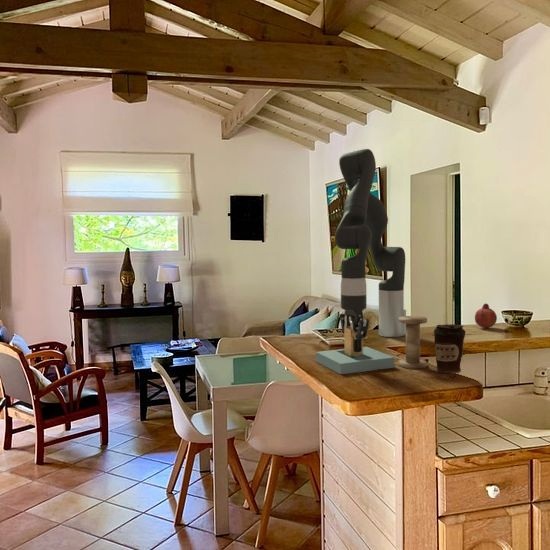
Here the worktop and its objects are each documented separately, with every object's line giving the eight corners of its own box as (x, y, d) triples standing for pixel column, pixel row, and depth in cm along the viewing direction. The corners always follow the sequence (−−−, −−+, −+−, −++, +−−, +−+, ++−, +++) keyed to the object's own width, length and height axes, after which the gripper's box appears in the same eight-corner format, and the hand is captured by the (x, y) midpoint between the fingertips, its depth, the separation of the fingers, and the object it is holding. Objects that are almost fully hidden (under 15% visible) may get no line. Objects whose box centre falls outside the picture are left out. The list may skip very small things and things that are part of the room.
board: (366, 355, 171) (366, 346, 171) (394, 367, 156) (394, 357, 156) (316, 361, 165) (316, 352, 165) (340, 374, 150) (340, 363, 150)
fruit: (470, 327, 215) (470, 302, 214) (488, 326, 217) (488, 301, 216) (482, 331, 207) (483, 305, 207) (501, 329, 209) (501, 304, 209)
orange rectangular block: (356, 352, 163) (356, 326, 162) (363, 355, 159) (362, 328, 158) (344, 353, 161) (344, 327, 161) (350, 356, 158) (350, 329, 157)
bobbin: (416, 360, 163) (416, 315, 162) (432, 366, 156) (432, 319, 155) (393, 363, 160) (393, 317, 159) (409, 369, 153) (409, 321, 152)
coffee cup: (460, 377, 145) (461, 329, 144) (429, 373, 149) (429, 327, 148) (467, 369, 152) (468, 324, 151) (438, 366, 156) (438, 322, 155)
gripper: (377, 294, 153) (377, 354, 155) (353, 289, 167) (353, 344, 168) (354, 296, 151) (354, 356, 152) (331, 291, 164) (331, 346, 165)
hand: (353, 350), depth 160 cm, fingers closed on orange rectangular block, 4 cm apart
